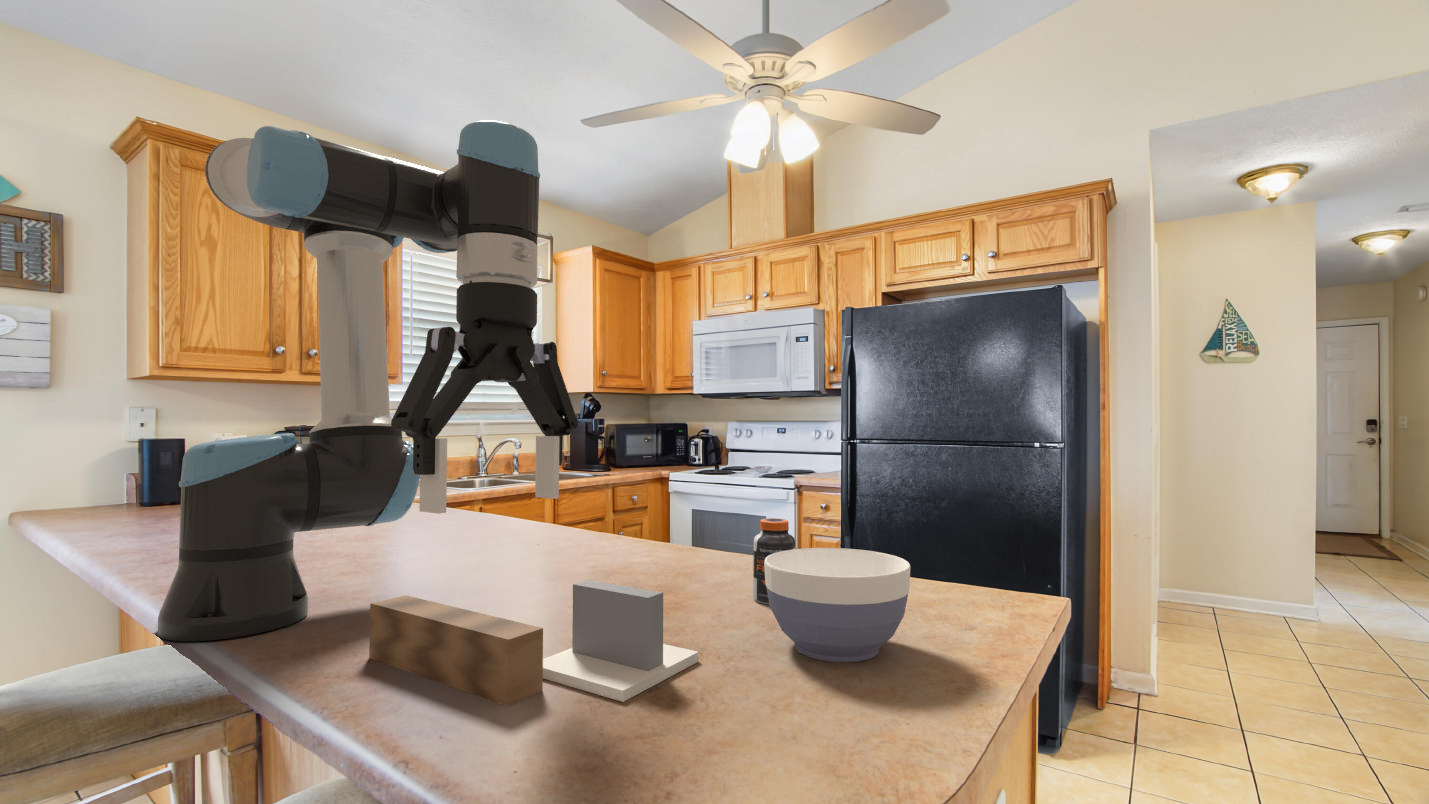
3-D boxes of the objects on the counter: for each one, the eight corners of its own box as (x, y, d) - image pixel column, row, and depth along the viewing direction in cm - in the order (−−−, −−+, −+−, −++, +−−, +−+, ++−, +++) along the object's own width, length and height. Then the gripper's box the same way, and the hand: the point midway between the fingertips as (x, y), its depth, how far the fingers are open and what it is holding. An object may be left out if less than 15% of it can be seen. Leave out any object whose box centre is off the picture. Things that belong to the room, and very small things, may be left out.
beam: (369, 660, 70) (370, 603, 70) (404, 649, 73) (405, 595, 74) (507, 708, 58) (508, 639, 58) (542, 693, 61) (543, 628, 62)
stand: (529, 674, 65) (530, 592, 66) (611, 641, 75) (611, 570, 76) (622, 701, 59) (623, 611, 59) (698, 661, 69) (698, 584, 69)
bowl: (921, 636, 77) (920, 553, 77) (897, 685, 63) (896, 583, 63) (790, 619, 84) (790, 543, 84) (742, 660, 69) (742, 568, 70)
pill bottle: (750, 604, 91) (750, 521, 91) (755, 593, 97) (755, 516, 97) (794, 606, 90) (794, 522, 90) (796, 595, 96) (796, 517, 96)
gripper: (403, 253, 52) (398, 523, 52) (611, 303, 73) (609, 494, 73) (349, 265, 56) (344, 516, 55) (561, 309, 77) (560, 491, 77)
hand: (495, 504), depth 64 cm, fingers open, 13 cm apart
